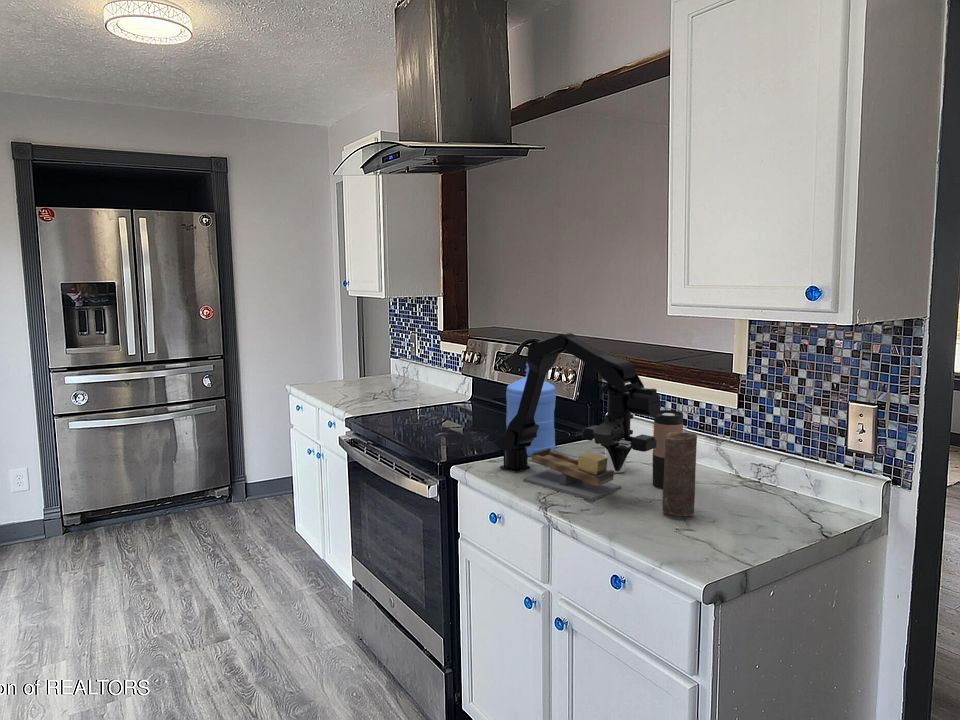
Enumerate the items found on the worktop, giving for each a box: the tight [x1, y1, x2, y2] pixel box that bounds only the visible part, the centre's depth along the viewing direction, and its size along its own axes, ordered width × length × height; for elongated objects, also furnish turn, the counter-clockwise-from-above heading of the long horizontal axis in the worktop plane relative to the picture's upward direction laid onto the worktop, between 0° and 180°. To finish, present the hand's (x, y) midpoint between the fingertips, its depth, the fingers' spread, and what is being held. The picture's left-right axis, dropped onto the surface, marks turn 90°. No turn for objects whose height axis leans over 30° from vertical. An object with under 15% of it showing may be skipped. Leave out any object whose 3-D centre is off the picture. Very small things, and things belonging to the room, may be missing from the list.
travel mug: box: [652, 409, 684, 490], centre depth 186 cm, size 8×8×20 cm
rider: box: [577, 451, 608, 476], centre depth 183 cm, size 6×4×5 cm
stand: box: [522, 468, 622, 502], centre depth 188 cm, size 23×13×4 cm, turn 46°
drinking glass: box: [605, 438, 628, 474], centre depth 200 cm, size 7×7×15 cm
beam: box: [531, 448, 615, 486], centre depth 188 cm, size 22×7×2 cm, turn 46°
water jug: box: [505, 362, 557, 457], centre depth 221 cm, size 16×16×28 cm
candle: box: [661, 431, 698, 517], centre depth 164 cm, size 8×7×20 cm
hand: (617, 470), depth 178 cm, fingers closed
